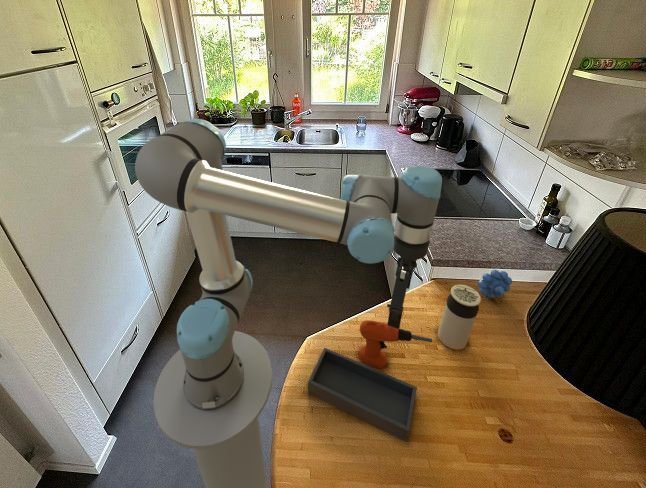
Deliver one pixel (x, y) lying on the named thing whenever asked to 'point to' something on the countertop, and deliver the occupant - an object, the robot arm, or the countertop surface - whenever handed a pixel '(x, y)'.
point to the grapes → (494, 283)
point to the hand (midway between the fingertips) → (399, 305)
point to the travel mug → (459, 316)
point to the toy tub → (364, 392)
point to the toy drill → (381, 341)
